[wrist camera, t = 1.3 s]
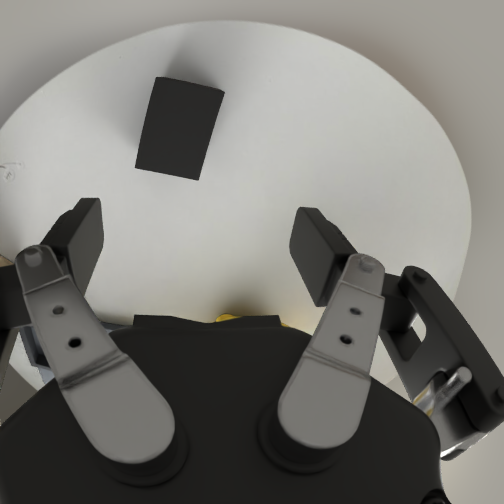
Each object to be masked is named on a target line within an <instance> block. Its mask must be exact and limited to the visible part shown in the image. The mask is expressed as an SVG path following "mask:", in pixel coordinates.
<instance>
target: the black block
mask: <svg viewBox="0 0 504 504" xmlns="http://www.w3.org/2000/svg"><path fill="white" fill-rule="evenodd" d="M224 94H225V92H224V91H222V90H220V89H216V88H212V87H208V86H204V85H200V84H195V83H191V82H186V81H181V80H176V79H171V78H166V77H156V79H155V83H154V86H153V90H152V93H151V97H150V101H149V105H148V109H147V113H146V117H145V121H144V126H143V130H142V135H141V139H140V144H139V149H138V154H137V159H136V164H135V168H137V169H142V170H147V171H153V172H158V173H163V174H168V175H173V176H178V177H183V178H188V179H193V180H199V177H200V173H201V170H202V166H203V163H204V159H205V155H206V152H207V149H208V145H209V142H210V138H211V135H212V132H213V128H214V125H215V122H216V119H217V115H218V112H219V109H220V106H221V103H222V100H223V97H224Z"/></svg>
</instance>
